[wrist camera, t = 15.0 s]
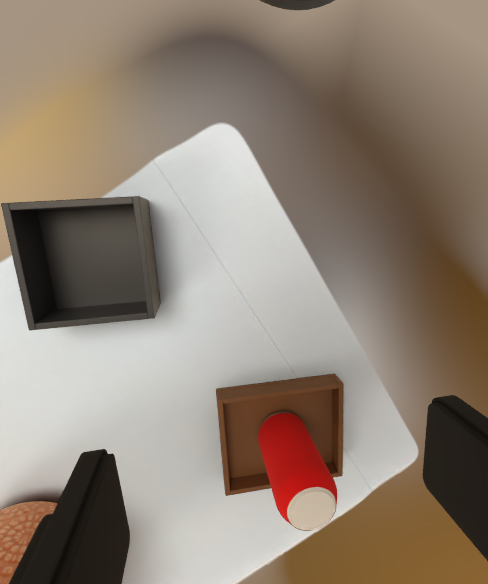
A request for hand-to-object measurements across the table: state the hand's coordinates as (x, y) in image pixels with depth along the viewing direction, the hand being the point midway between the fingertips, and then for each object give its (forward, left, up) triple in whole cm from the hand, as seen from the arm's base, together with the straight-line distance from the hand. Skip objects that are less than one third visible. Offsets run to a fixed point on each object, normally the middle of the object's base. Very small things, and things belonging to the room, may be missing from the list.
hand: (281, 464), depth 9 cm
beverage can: (-6, +20, -28) cm, 35 cm away
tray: (-6, +20, -28) cm, 35 cm away
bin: (+12, -4, -28) cm, 31 cm away
